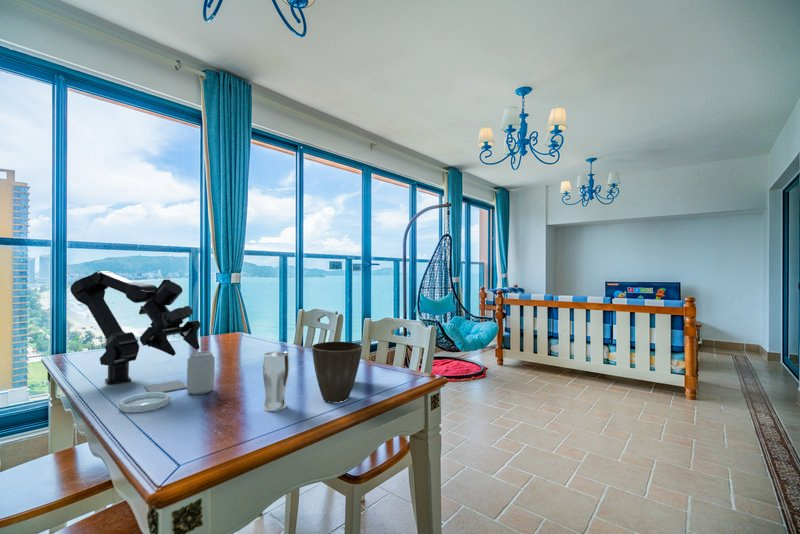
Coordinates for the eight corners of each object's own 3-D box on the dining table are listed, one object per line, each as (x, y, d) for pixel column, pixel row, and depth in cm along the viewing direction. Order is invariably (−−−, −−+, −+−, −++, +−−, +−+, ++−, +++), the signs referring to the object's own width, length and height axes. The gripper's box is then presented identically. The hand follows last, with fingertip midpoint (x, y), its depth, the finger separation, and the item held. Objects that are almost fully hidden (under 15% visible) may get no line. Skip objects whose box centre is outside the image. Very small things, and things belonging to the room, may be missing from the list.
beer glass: (263, 414, 100) (265, 357, 101) (260, 405, 107) (261, 352, 107) (290, 410, 104) (291, 355, 104) (285, 402, 110) (286, 350, 110)
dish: (116, 404, 105) (116, 397, 105) (163, 395, 113) (164, 389, 113) (123, 416, 97) (123, 409, 97) (173, 405, 105) (174, 399, 105)
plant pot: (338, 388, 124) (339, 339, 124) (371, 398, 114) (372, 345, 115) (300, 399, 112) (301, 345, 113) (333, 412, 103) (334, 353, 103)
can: (202, 396, 113) (203, 356, 113) (180, 394, 115) (181, 354, 115) (219, 389, 120) (220, 351, 121) (198, 387, 122) (199, 349, 122)
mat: (143, 387, 121) (143, 385, 121) (179, 381, 128) (179, 380, 128) (150, 394, 114) (150, 393, 114) (187, 388, 120) (187, 387, 120)
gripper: (148, 300, 112) (176, 339, 109) (197, 296, 130) (223, 330, 127) (127, 325, 114) (154, 365, 111) (178, 318, 132) (203, 352, 129)
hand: (186, 351), depth 119 cm, fingers open, 9 cm apart
